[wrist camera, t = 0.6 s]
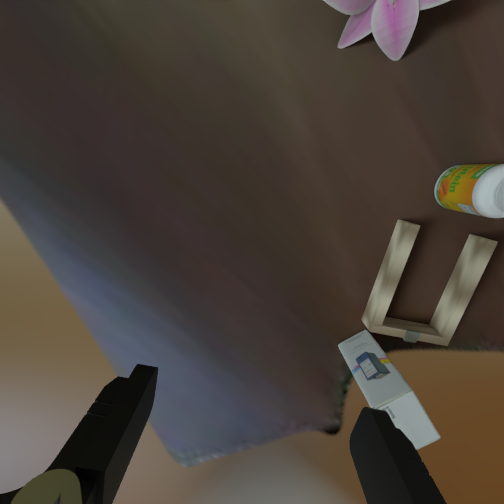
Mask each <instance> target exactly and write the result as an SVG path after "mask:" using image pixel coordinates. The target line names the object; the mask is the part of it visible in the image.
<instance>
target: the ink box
mask: <svg viewBox="0 0 504 504" xmlns="http://www.w3.org/2000/svg"><path fill="white" fill-rule="evenodd" d="M338 347H339V349H340V351H341V353H342V355H343V357H344V359H345V360H346V362H347V364H348V366H349V368H350V370H351V372H352V374H353V375H354V377H355V379H356V381H357V383H358V385H359V386H360V389H361V390H362V392H363V394H364V396H365V398H366V399H367V401H368V403H369V405H370V406H371V408H374V409H380V410H384V411H386V412H387V413H388V414H389V416H390V418H391V420H392V422H393V423H394V425H395V427H396V428H399V429H400V430H401V431H402V432H403V433H404V434H405V435H406V436H407V438H408V439H409V440H410V441H411V442H412V443H413V445H414V447H415V449H416V450H417V449H420V448H422V447H423V446H426V445H428V444H430V443H432V442H434V441H436V440H438V439H440V438H441V437H440V435H439V434H438V432H437V430H436V429H435V427H434V425H433V424H432V422H431V420H430V418H429V417H428V415H427V413H426V412H425V410H424V408H423V407H422V405H421V403H420V401H419V400H418V398H417V396H416V395H415V393H414V392H413V390H412V389H411V387H410V386H409V384H408V383H407V382H406V381H405V379H404V378H403V376H402V375H401V374H400V372H399V371H398V370H397V368H396V367H395V366H394V364H393V363H392V362H391V361H390V359H389V358H388V356H387V355H386V354H385V352H384V351H383V350H382V348H381V347H380V346H379V344H378V343H377V342H376V340H375V339H374V338H373V337H372V335H371V334H370V333H369V332H368V330H367V329H366V330H364V331H362V332H360V333H358V334H356V335H354V336H352V337H351V338H349V339H347V340H345V341H343V342H341V343H340V344H338Z"/></svg>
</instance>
